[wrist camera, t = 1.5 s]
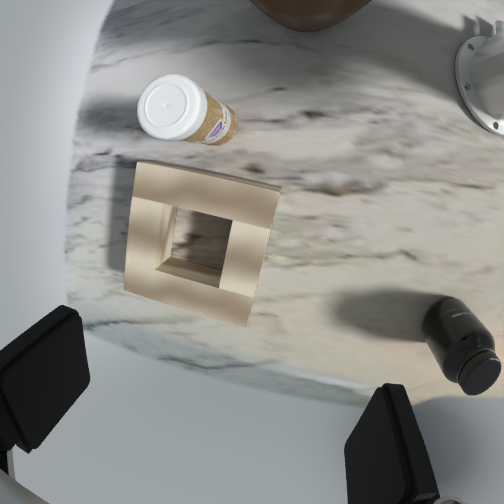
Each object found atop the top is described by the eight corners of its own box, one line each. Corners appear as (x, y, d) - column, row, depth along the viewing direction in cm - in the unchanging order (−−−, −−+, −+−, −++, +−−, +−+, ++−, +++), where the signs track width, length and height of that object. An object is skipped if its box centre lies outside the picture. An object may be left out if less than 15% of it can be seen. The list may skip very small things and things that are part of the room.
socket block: (156, 160, 32) (137, 161, 28) (281, 187, 31) (279, 192, 27) (141, 275, 37) (123, 289, 33) (251, 307, 36) (245, 326, 32)
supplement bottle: (455, 285, 32) (505, 335, 20) (471, 322, 33) (513, 375, 21) (411, 317, 34) (447, 378, 22) (430, 352, 35) (462, 413, 23)
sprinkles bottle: (228, 151, 31) (183, 149, 18) (189, 137, 31) (125, 128, 18) (245, 111, 30) (210, 82, 17) (205, 97, 30) (149, 65, 17)
